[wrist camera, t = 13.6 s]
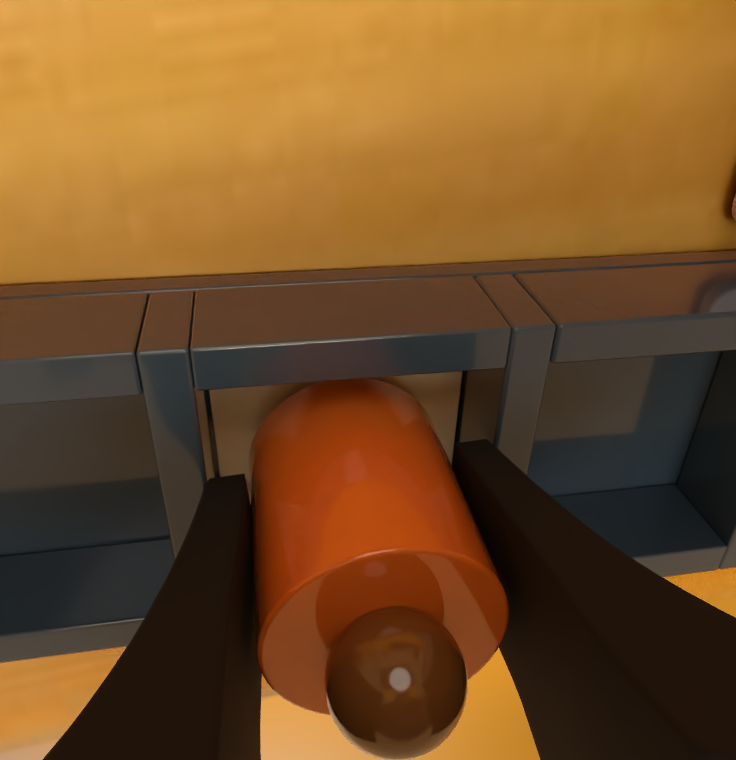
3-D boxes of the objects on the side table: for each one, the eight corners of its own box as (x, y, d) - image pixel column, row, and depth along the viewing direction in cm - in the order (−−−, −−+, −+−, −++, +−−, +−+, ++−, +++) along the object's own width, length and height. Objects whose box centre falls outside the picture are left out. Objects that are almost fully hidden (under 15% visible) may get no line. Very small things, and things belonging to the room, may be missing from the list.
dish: (768, 247, 15) (871, 304, 12) (682, 487, 18) (749, 566, 16) (-212, 294, 12) (-323, 381, 9) (-80, 570, 15) (-135, 682, 13)
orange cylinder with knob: (437, 364, 13) (571, 629, 8) (434, 510, 15) (539, 794, 10) (235, 389, 12) (240, 689, 7) (261, 537, 14) (279, 849, 9)
